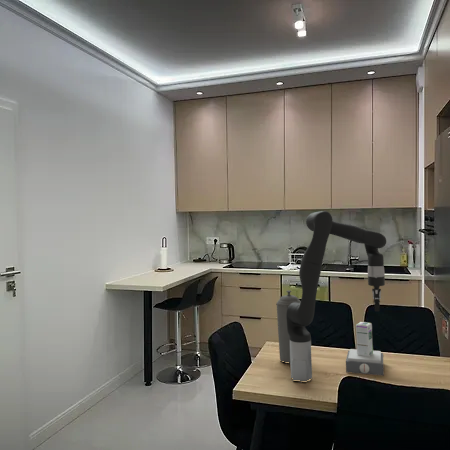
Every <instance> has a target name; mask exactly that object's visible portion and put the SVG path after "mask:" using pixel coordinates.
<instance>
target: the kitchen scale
mask: <svg viewBox="0 0 450 450" xmlns="http://www.w3.org/2000/svg"><path fill="white" fill-rule="evenodd" d="M346 354H347V355H346V358H345V372H346V373H349V372H352V373H353V374H362V375H363V374H364V375H374V376H375V375H376V376H383V377H384V375H385V371H384V369H385V368H384V353H383V352H381V350H373V354H372V355H370V357H366V356H360V355H357V348H350V349H349V350H347V353H346Z"/></svg>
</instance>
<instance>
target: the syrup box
mask: <svg viewBox="0 0 450 450" xmlns="http://www.w3.org/2000/svg"><path fill="white" fill-rule="evenodd" d="M355 333H356V335H355V336H356V349H357V355H360V356H366V357H370V355H372V354H373V351H374V345H373V344H374V343H373V324H372V322H368V321H367V322H366V321H359V323H356V324H355Z"/></svg>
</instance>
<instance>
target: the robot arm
mask: <svg viewBox="0 0 450 450" xmlns="http://www.w3.org/2000/svg"><path fill="white" fill-rule="evenodd" d="M305 224H306V227H307V228H308V229H309V230H310V231H311V232H313V233H312V238H311V240H310V243H309V245H308V247H307V248H306V250H305V251H304V253H303V255H302V258H301V262H300V266H299V270H298V271H299V273H298V275H299V279H300V285H301V289H302V290H301V291H302V292H301V293H302V294H301V298H300V299H301V300H300V301H301V303H297V302H294V303H291V304H290V305H289V306H288V308H287V313H286V319H287V331H288V334H289V337H290V364H289V366H290V379H291V378H293V380H300V381H307V380H309V379H311V378H312V379H313V366H312V365H313V363H312V362H313V360H312V337H311V332H309V331H308V329H307V328H306V327H308V326H310V325H311V323H313V320H314V316H315V310H316V300H317V292H318V287H319V281H320V276H321V273H322V268H323V262H324V256H325V252H326V248H327V243H328V240H329V237H330V235H333V236H335V237H339V238H342V239H346V240H348V241H351V242H355V243H358V244H363V245H364V248H365V253H366V256H367V284H368V286H370V287H373V288H372V290H371V291H372V299H373V303H374V306H373V307H374V311H375V312H380V307H381V306H380V305H381V304H380V303H381V301H380V300H381V299H382V298H381V296H382V295H381V294H382V289H381V288H380V287H383V286H385V284H386V282H385V281H386V280H385V279H386V278H385V273H386V272H385V267H384V266H385V264H384V263H385V262H384V255H383V254H382V253H380V252H379V249H383V248H384V247H385V246H386V244H387V238H386V236H385V235H384V234H382V233H381V232H375V231H372V230H368V229H365V228H362V227H359V226H355V225H352V224H347V223H342V222H337V221H334V220H333V216H332V214H331V213H330V212H329V211H327V210H321V211H316V212H314V211H313V212H311V213H310V214H308V215H307V217H306V221H305ZM293 380H292V381H293Z"/></svg>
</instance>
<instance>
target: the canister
mask: <svg viewBox="0 0 450 450" xmlns="http://www.w3.org/2000/svg"><path fill="white" fill-rule="evenodd" d="M286 293H287V294H285V295H282V296H281V297H280V298H279V299H278V300H277V302H276V317H277V318H276V319H277V333H278V334H277V335H278V352H279V361H280V360H281V361H284V362H289V363H290V337H289V334H288V331H287V319H286V313H287V308H288V306H289V305H290V304H291V303H294V302H297V303H301V300H300V299H299V298H298V296H296V295H293V294H291V293H292V290H286ZM281 361H280V362H281Z"/></svg>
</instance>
